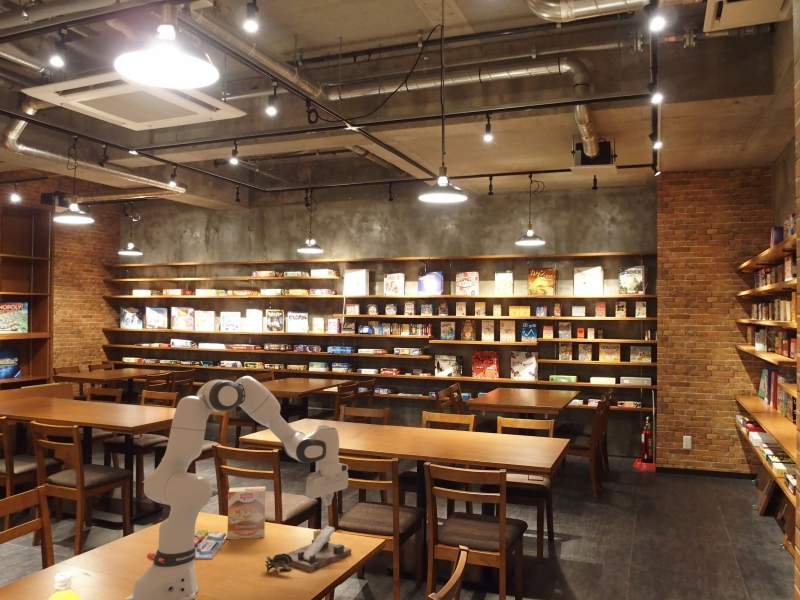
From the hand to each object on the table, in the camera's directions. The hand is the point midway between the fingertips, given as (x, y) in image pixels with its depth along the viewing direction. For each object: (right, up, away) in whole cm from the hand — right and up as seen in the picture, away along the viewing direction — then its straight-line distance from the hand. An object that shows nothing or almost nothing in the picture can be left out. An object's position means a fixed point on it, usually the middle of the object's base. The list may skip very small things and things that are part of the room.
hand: (327, 505), depth 238 cm
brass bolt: (-3, -15, +5) cm, 16 cm away
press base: (-4, -19, -1) cm, 20 cm away
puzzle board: (-54, -21, +11) cm, 59 cm away
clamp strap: (-3, -13, -4) cm, 14 cm away
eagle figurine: (-16, -19, -14) cm, 29 cm away
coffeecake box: (-36, -21, +23) cm, 47 cm away
